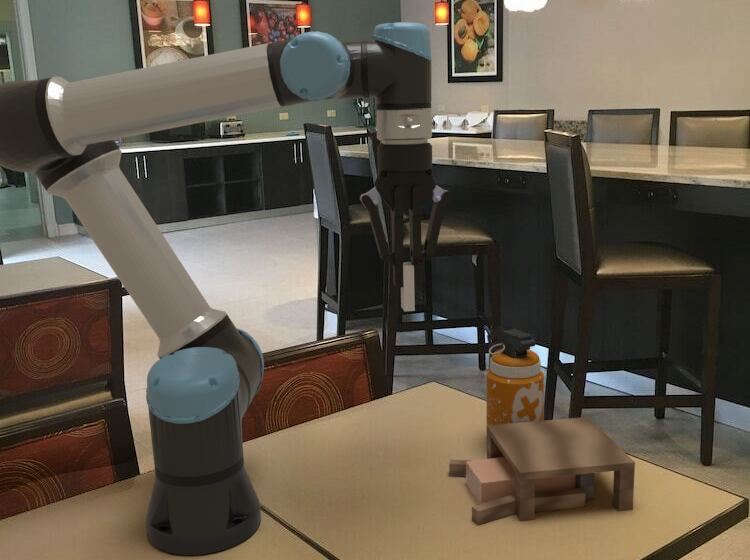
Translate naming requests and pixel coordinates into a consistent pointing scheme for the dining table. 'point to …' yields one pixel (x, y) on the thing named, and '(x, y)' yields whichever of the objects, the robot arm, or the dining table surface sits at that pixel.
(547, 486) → the pink foam brick
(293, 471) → the dining table surface
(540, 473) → the shelf
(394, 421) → the dining table surface
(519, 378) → the canister
